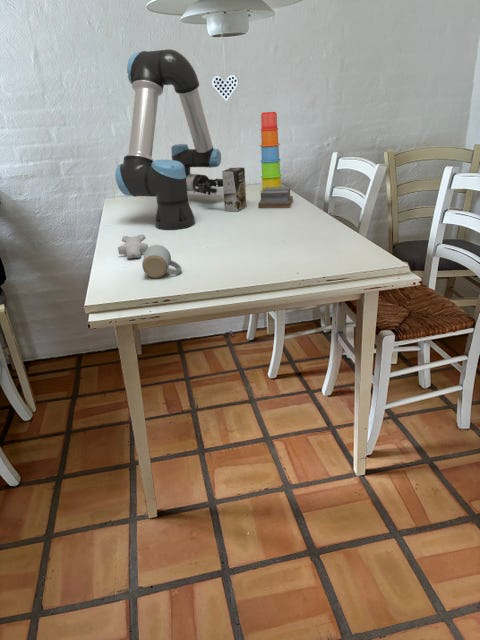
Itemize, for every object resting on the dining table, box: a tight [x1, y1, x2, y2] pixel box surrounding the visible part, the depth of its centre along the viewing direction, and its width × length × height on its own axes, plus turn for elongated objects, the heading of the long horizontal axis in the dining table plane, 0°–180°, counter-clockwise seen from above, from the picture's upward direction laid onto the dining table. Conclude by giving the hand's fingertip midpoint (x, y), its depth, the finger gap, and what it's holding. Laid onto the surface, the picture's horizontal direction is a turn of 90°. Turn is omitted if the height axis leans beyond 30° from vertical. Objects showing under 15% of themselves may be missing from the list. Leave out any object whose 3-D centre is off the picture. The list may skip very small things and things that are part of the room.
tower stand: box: [257, 186, 294, 209], centre depth 201 cm, size 13×13×6 cm
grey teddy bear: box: [117, 234, 149, 260], centre depth 155 cm, size 10×5×15 cm
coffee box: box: [222, 167, 247, 213], centre depth 196 cm, size 9×6×16 cm
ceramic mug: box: [142, 244, 182, 279], centre depth 136 cm, size 11×8×8 cm
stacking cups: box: [259, 111, 283, 193], centre depth 216 cm, size 10×10×35 cm
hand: (234, 187), depth 197 cm, fingers open, 13 cm apart
